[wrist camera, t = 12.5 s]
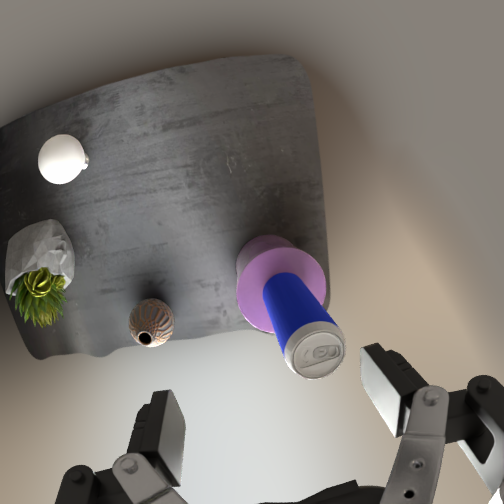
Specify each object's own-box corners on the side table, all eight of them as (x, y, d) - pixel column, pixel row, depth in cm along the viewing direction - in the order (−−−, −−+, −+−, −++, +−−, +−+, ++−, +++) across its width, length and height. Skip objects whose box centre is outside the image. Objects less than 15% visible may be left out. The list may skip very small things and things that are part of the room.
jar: (297, 225, 49) (320, 239, 37) (307, 292, 51) (330, 322, 40) (226, 238, 48) (228, 257, 37) (239, 306, 51) (245, 341, 39)
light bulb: (86, 190, 44) (53, 195, 33) (58, 167, 43) (21, 167, 32) (110, 154, 43) (81, 149, 33) (80, 132, 42) (47, 122, 31)
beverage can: (263, 314, 39) (288, 387, 24) (259, 273, 38) (284, 332, 23) (304, 307, 39) (348, 375, 25) (303, 268, 38) (350, 321, 23)
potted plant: (78, 213, 41) (99, 316, 41) (56, 236, 49) (73, 319, 49) (1, 221, 32) (22, 336, 32) (-5, 244, 40) (13, 334, 40)
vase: (128, 318, 49) (114, 344, 41) (146, 285, 48) (132, 306, 40) (165, 339, 51) (156, 367, 42) (184, 306, 50) (178, 331, 41)
